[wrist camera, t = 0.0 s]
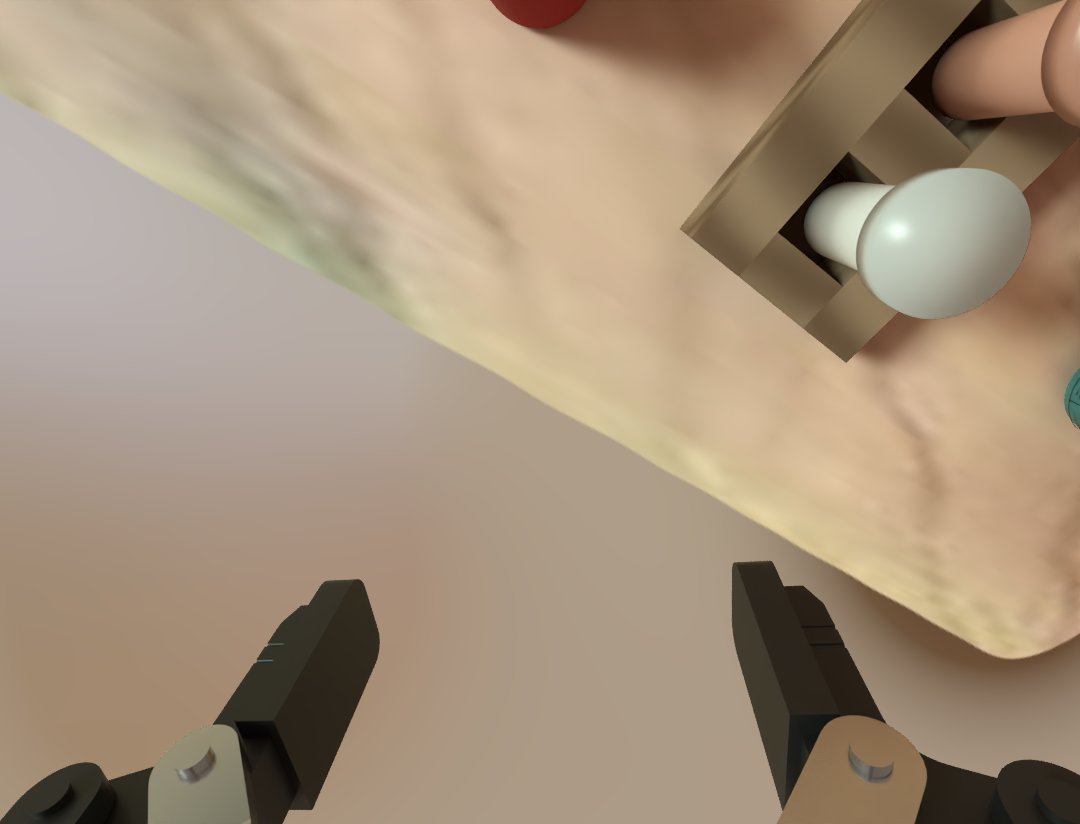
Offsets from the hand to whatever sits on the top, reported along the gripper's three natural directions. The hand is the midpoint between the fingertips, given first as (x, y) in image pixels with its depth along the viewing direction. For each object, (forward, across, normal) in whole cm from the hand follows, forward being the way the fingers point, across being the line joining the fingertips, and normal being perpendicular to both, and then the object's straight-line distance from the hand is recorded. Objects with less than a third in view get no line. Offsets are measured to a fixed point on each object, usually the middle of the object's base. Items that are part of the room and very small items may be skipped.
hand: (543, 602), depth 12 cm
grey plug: (+25, -15, -4) cm, 29 cm away
